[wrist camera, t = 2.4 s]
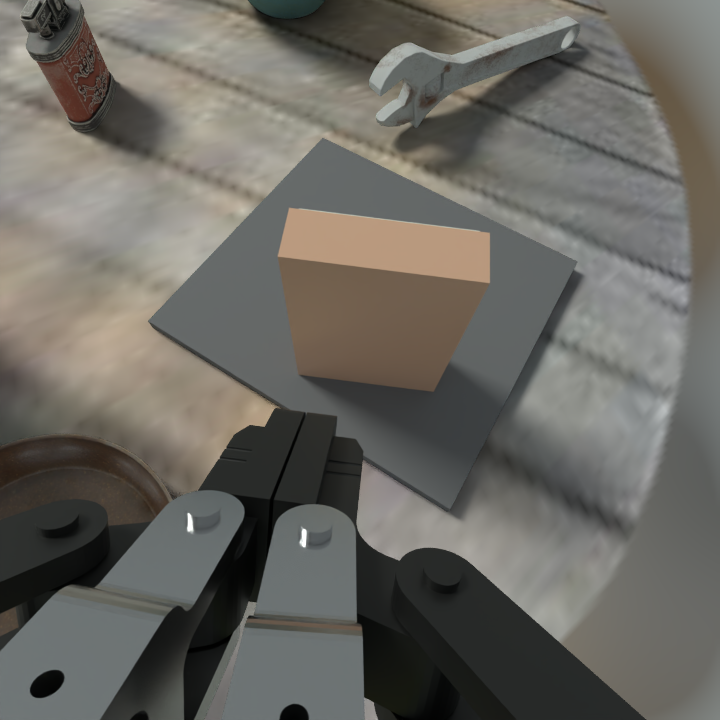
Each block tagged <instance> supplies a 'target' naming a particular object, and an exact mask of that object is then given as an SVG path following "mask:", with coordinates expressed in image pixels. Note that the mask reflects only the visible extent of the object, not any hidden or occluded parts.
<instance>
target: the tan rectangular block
mask: <svg viewBox="0 0 720 720" xmlns="http://www.w3.org/2000/svg"><path fill="white" fill-rule="evenodd" d="M278 262H279V267H280V273H281V279H282V284H283V290H284V296H285V301H286V307H287V313H288V319H289V324H290V330H291V336H292V341H293V347H294V353H295V358H296V364H297V370H298V375H305V376H313V377H320V378H328V379H336V380H344V381H352V382H360V383H368V384H375V385H383V386H391V387H399V388H407V389H415V390H423V391H430V392H434V390H435V388H436V386H437V384H438V382H439V380H440V379H441V377H442V375H443V373H444V371H445V369H446V367H447V365H448V363H449V361H450V359H451V357H452V355H453V353H454V351H455V350H456V348H457V346H458V344H459V342H460V340H461V338H462V336H463V334H464V332H465V330H466V328H467V326H468V324H469V323H470V321H471V319H472V317H473V315H474V313H475V311H476V309H477V307H478V305H479V303H480V301H481V299H482V297H483V296H484V294H485V292H486V290H487V288H488V286H489V284H490V233H487V232H480V231H476V230H468V229H460V228H452V227H444V226H436V225H428V224H420V223H412V222H404V221H396V220H388V219H380V218H372V217H364V216H356V215H348V214H340V213H332V212H324V211H316V210H308V209H300V208H299V209H295V208H289V211H288V215H287V219H286V223H285V227H284V232H283V236H282V240H281V244H280V249H279V253H278Z"/></svg>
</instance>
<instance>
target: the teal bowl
mask: <svg viewBox="0 0 720 720" xmlns="http://www.w3.org/2000/svg"><path fill="white" fill-rule="evenodd" d="M248 1H249V2H250V3H251V4H252V5H253V6H254V7H255V8H257V9H258V10H259V11H261V12H262V13H264V14H267V15H269V16H272V17H276V18H283V19H292V18H299V17H303V16H306V15H309V14H311V13H313V12H314V11H316V10H317V9H318V8H319V7H320V6H321V5H322V4H323V2H324V1H325V0H248Z"/></svg>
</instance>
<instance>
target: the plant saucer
mask: <svg viewBox="0 0 720 720" xmlns="http://www.w3.org/2000/svg"><path fill="white" fill-rule="evenodd" d="M68 499H83V500H89V501H93V502H96V503H98V504H100V505H101V506H102V507H104V508H105V510H106V512H107V515H108V525H109V526H111V525H122V524H133V523H144V522H150V521H153V520H154V519H155V518H156V517H157V515H158V514H159V513H160V512H161V511H162V510H163V508H164V507H165V506H166V505H167V504H168V503H170V502H171V501H172V500H173V499H172V497H171V495H170V493H169V491H168V490H167V488H166V487H165V485H164V484H163V482H162V481H161V480H160V478H159V477H158V476H157V475H156V474H155V472H154V471H153V470H152V469H151V468H150V467H149V466H148V465H147V464H146V463H145V462H144V461H142V460H141V459H140V458H139V457H138V456H136V455H135V454H133V453H132V452H130V451H128V450H127V449H125V448H123V447H121V446H119V445H117V444H114V443H112V442H110V441H106V440H103V439H101V438H96V437H92V436H86V435H78V434H48V435H40V436H34V437H29V438H25V439H20V440H16V441H13V442H10V443H7V444H4V445H1V446H0V520H1V519H4V518H7V517H10V516H13V515H16V514H19V513H21V512H24V511H27V510H30V509H33V508H36V507H39V506H41V505H44V504H48V503H51V502H55V501H60V500H68ZM18 627H19V626H18V620H17V614H16V608H15V607H14V608H12V609H9V610H7V611H5V612H3V613H1V614H0V636H2V635H4V634H6V633H8V632H10V631H12V630H14V629H16V628H18Z"/></svg>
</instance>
